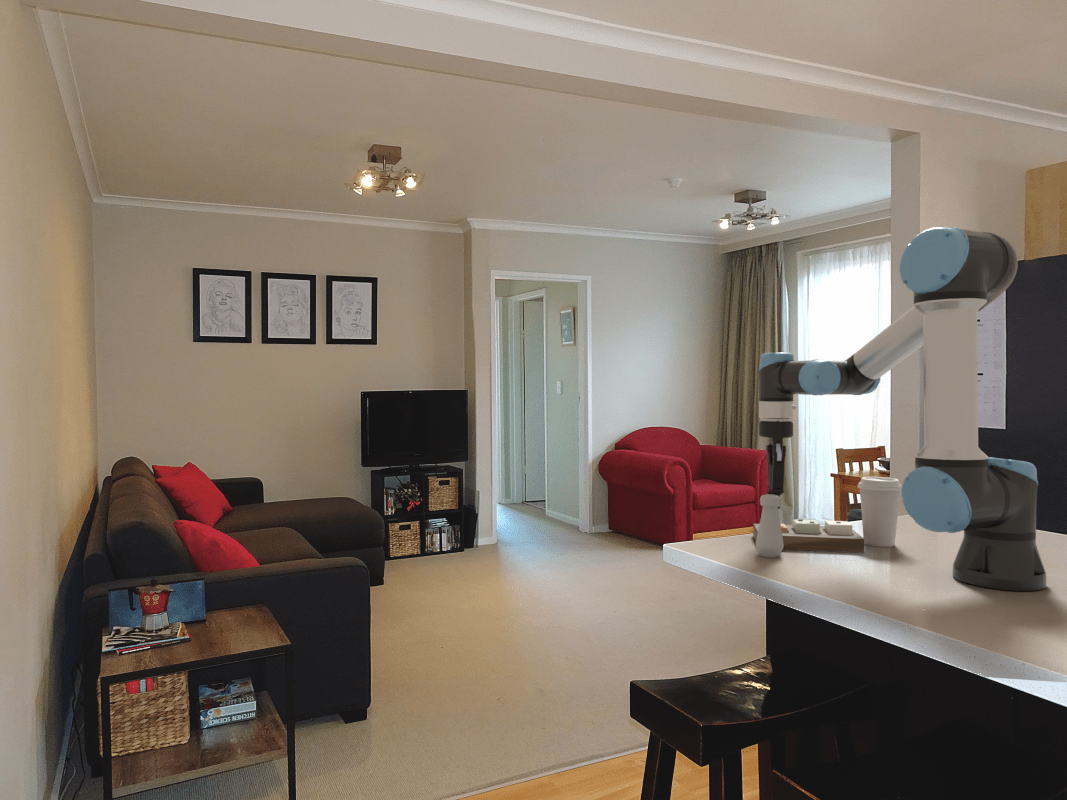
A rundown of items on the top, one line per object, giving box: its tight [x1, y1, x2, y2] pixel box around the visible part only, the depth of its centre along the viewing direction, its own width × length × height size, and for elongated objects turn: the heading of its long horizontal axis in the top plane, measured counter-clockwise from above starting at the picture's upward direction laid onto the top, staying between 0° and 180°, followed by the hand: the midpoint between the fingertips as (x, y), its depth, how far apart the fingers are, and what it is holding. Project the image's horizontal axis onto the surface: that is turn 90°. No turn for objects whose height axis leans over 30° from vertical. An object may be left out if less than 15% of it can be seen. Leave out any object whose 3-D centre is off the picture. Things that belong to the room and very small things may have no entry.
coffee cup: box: [857, 476, 902, 548], centre depth 180 cm, size 10×10×15 cm
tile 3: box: [780, 523, 787, 533], centre depth 181 cm, size 5×5×3 cm
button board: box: [752, 523, 865, 553], centre depth 180 cm, size 14×22×3 cm, turn 80°
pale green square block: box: [792, 519, 821, 534], centre depth 180 cm, size 5×5×3 cm
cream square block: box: [824, 520, 853, 535], centre depth 179 cm, size 5×5×3 cm
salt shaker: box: [755, 493, 784, 559], centre depth 168 cm, size 6×6×13 cm
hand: (775, 522), depth 181 cm, fingers closed
